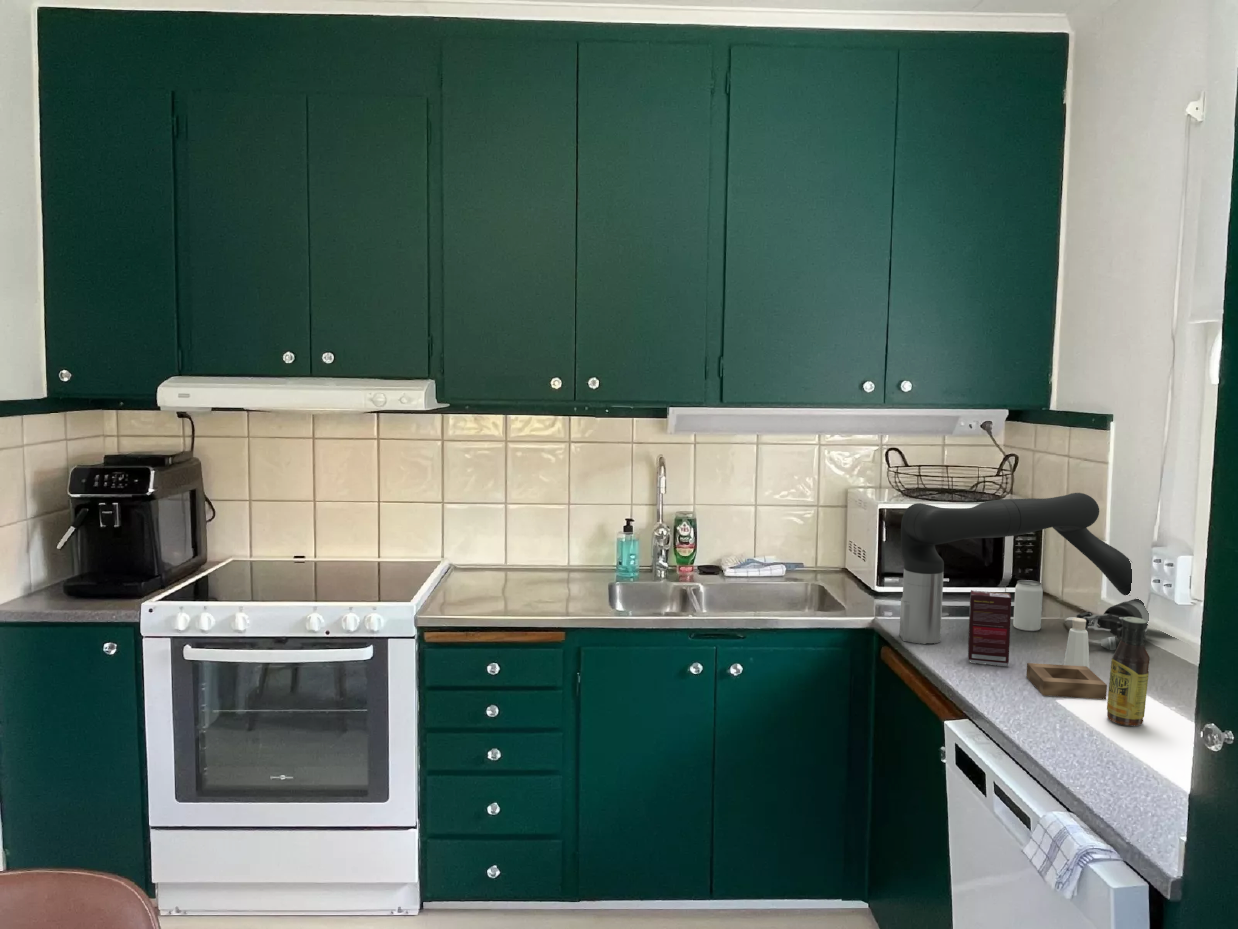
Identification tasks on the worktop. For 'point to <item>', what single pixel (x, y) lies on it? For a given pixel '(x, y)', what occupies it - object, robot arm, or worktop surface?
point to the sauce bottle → (1129, 675)
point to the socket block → (1066, 681)
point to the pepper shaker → (1077, 645)
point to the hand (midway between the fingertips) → (1098, 629)
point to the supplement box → (989, 628)
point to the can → (1028, 605)
